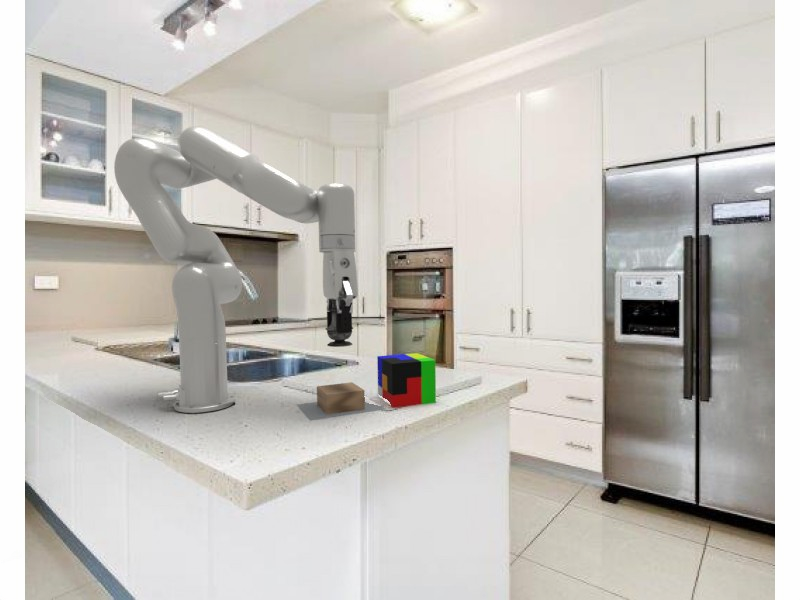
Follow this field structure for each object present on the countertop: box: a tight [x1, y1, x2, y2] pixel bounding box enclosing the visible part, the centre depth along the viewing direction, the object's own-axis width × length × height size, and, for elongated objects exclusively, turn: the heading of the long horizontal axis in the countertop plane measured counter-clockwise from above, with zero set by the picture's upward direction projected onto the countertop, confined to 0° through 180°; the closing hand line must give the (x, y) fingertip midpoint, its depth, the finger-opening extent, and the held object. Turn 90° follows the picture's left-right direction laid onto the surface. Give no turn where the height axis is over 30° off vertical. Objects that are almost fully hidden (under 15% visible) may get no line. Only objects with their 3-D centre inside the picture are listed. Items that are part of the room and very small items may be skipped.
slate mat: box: [296, 401, 386, 421], centre depth 96 cm, size 16×12×1 cm
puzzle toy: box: [376, 352, 437, 409], centre depth 101 cm, size 10×10×10 cm
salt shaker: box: [325, 297, 354, 348], centre depth 95 cm, size 6×6×12 cm
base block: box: [316, 381, 365, 415], centre depth 96 cm, size 8×8×4 cm
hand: (339, 330), depth 95 cm, fingers closed on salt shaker, 5 cm apart
